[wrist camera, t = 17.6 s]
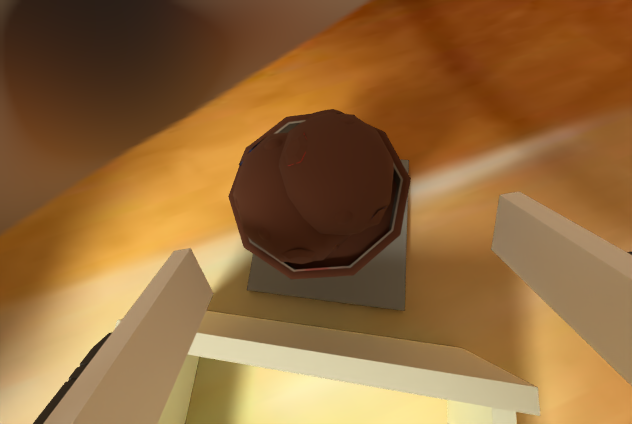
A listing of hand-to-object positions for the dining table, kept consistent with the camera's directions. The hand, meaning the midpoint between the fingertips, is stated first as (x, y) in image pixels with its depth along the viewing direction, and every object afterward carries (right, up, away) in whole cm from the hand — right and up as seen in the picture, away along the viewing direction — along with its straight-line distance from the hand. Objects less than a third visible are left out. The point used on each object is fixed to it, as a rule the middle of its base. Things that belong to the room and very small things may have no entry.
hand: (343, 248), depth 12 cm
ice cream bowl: (0, 0, +14) cm, 14 cm away
